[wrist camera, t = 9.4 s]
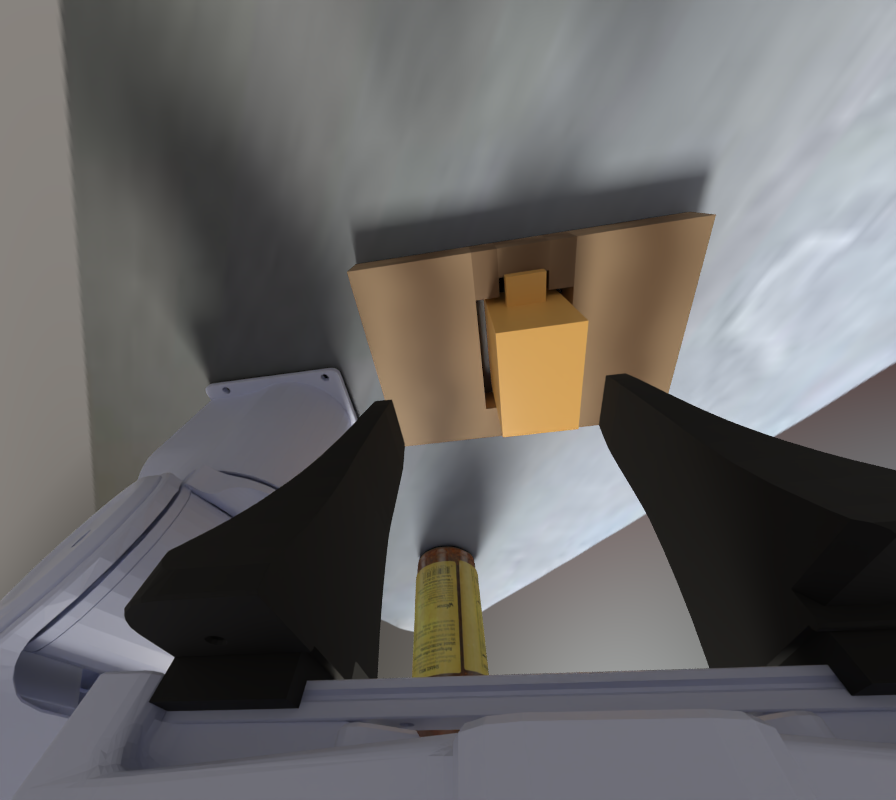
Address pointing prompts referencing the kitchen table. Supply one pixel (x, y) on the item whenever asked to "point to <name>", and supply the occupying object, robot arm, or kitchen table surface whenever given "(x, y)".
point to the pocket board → (568, 267)
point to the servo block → (535, 356)
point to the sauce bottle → (448, 619)
